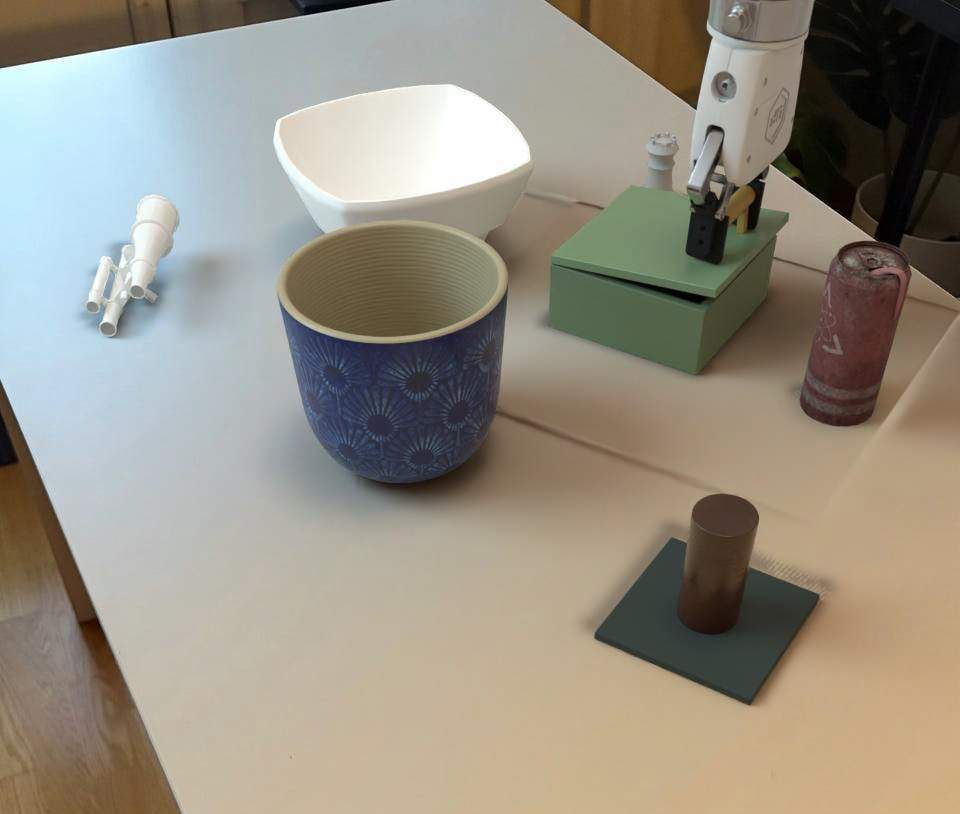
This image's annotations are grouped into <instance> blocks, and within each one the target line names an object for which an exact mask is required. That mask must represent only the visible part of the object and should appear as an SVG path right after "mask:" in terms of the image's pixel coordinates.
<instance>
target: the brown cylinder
mask: <svg viewBox="0 0 960 814" xmlns="http://www.w3.org/2000/svg"><path fill="white" fill-rule="evenodd" d="M689 522H690V523H689V528H688V533H687V535H688V536H687V542H686V543H687V547H686V554H685V560H684V567H683V573H682V580H681V586H680V592H679V599H678V605H677V614H678V617H679V619H680V620H681V622H682V623H683V624H684V625H685V626H686V627H688V628H689V629H691V630H693V631H696V632H699V633H703V634H719V633H723V632H726V631H728V630H730V629H731V628H732V627H733V626H734V625H735V624H736V623H737V621H738V619H739V614H740V609H741V604H742V600H743V595H744V590H745V585H746V581H747V576H748V571H749V567H750V566H751V561H752V557H753V552H754V547H755V543H756V537H757V534H758V533H757V532H758V529H759V523H760V513H759V511H758V509H757V508H756V506H755V505H754V504H752V502H750V501H749V500H748V499H746V498H744V497H741V496H738V495H735V494H730V493H715V494H709V495H706V496H704V497H702V498H700V499H699V500H698V501H697V502H695V504H694V505H693V507H692V510H691V517H690V521H689Z"/></svg>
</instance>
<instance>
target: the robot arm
mask: <svg viewBox="0 0 960 814" xmlns="http://www.w3.org/2000/svg"><path fill="white" fill-rule="evenodd" d="M815 1H816V0H709V5H708V6H709V8H708V14H707V21H706V30H707V32H708V34H709V35H710V36H711V37H712V38H711V41H710V45H709V50H708V54H707V57H706V61H705V65H704V71H703V76H702V81H701V85H700V91H699V94H698V101H697V106H696V112H695V117H694V124H693V129H692V137H691V143H690V153H689V168H690V171H691V175H690V176H689V179H688V182H687V185H686V193H687V195H689V197H690V202H691V204H690V211H691V216H690V222H689V229H688V236H687V243H686V250H685V252H686V254H687V255H688V256H691V257H694V258H697V259H700V260H703V261H707V262H710V263H713V264H719V263H720V262H721V261H722V259H723V254H724V248H725V242H726V236H727V231H728V225H729V219H730V216H727V215H726V211H727V208H728V205H729V202H730V198H731V196H732V195H733V194H734V193H735V192H736V191H737V190H738V189H739V188H740V187H743V186H745V185H747V186H750V187H751V188H752V189H753V190H754V192H755V199H754V201H753V202H752V203H751V204H750V205H749V207H748V220H747V229H751V230H752V229H754V228H755V227H756V226H757V224H758V219H759V214H760V209H761V208H762V204H763V203H762V202H763V198H764V192H765V188H766V182H765V180H766V179H767V177H768V175H769V172H770V165H771V164H772V163H773V162H775V160H776V159H777V158H779V156H780V155H781V154H782V153H783V152H784V151H785V150H786V148H787V146H788V145H789V142H790V141H791V137H792V131H793V125H794V121H795V114H796V107H797V102H798V94H799V87H800V81H801V74H802V68H803V58H804V49H805V41H806V40H807V38H808V36H809V33H810V32H809V31H810V26H811V22H812V16H813V11H814V6H815ZM718 166H719V167H722V168H723V170H724V174H723V173H719V172H716V168H717V167H718ZM711 182H713V183H717V184H720V185H722V188H721V191H720V194H719V197H718V196H717V194H716V192H714V191H712V190H711V189H712V188H711ZM731 224H734V225H737V218H736V219H735V220H734V221H733V222H732V223H731Z"/></svg>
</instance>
